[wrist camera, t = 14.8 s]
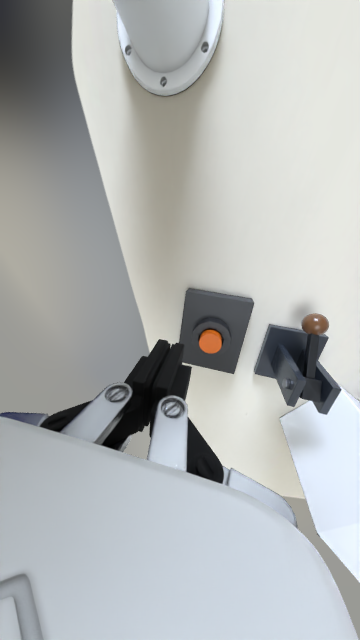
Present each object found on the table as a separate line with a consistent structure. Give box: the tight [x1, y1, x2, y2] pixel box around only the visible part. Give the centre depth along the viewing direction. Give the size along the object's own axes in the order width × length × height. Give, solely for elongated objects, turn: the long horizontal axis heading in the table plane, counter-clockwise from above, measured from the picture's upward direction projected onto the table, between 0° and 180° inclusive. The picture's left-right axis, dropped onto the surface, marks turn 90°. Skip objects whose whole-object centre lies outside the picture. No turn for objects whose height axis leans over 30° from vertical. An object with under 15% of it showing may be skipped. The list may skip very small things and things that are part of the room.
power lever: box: [299, 314, 329, 403], centre depth 26 cm, size 12×3×3 cm
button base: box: [179, 288, 254, 374], centre depth 33 cm, size 14×11×4 cm
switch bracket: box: [254, 324, 342, 415], centre depth 29 cm, size 10×9×11 cm
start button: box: [199, 329, 222, 353], centre depth 30 cm, size 4×4×2 cm
